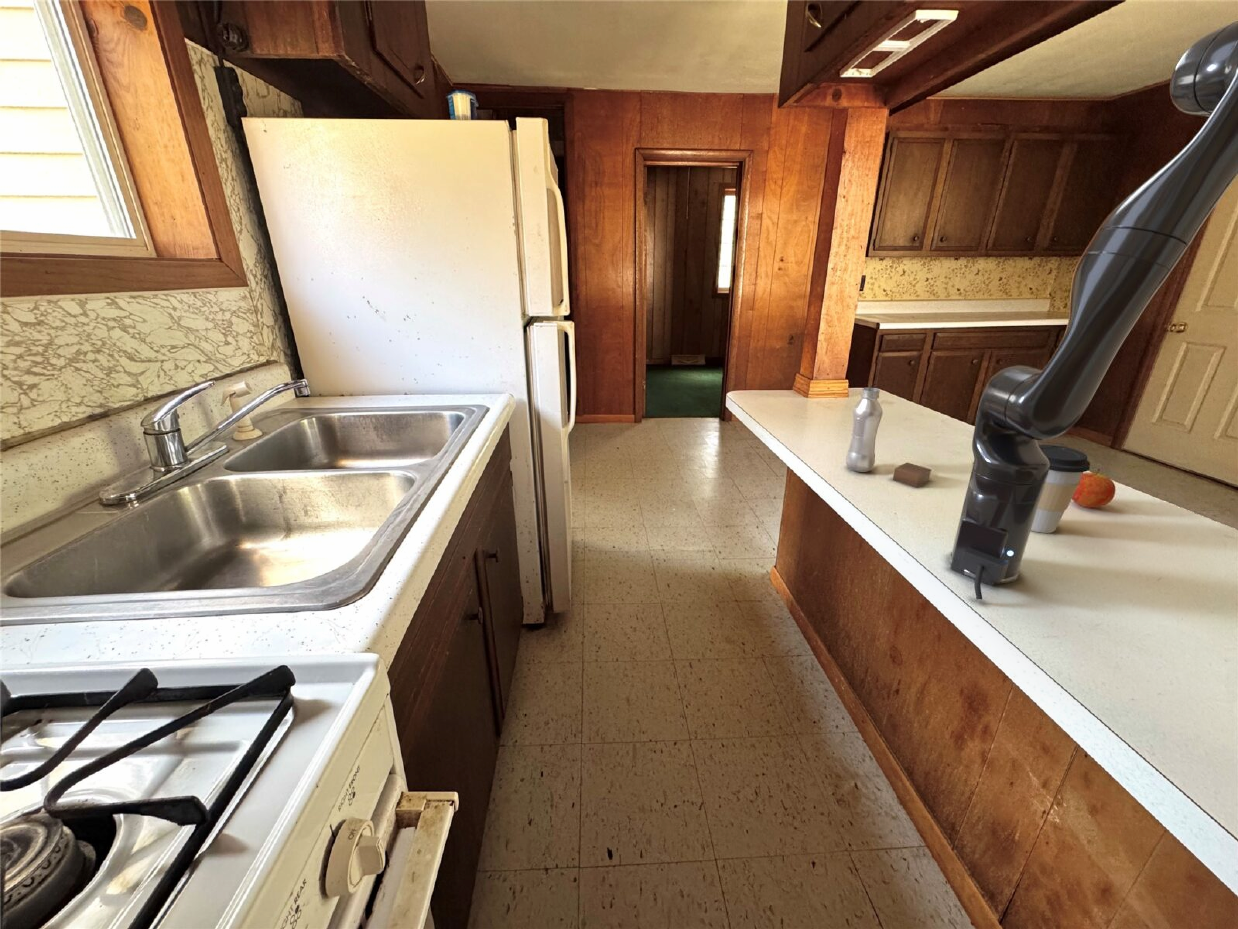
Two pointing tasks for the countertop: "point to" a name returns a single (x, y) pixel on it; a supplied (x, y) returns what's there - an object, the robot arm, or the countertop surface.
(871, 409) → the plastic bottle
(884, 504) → the countertop surface
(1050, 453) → the coffee cup
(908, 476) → the walnut block
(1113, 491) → the fruit
